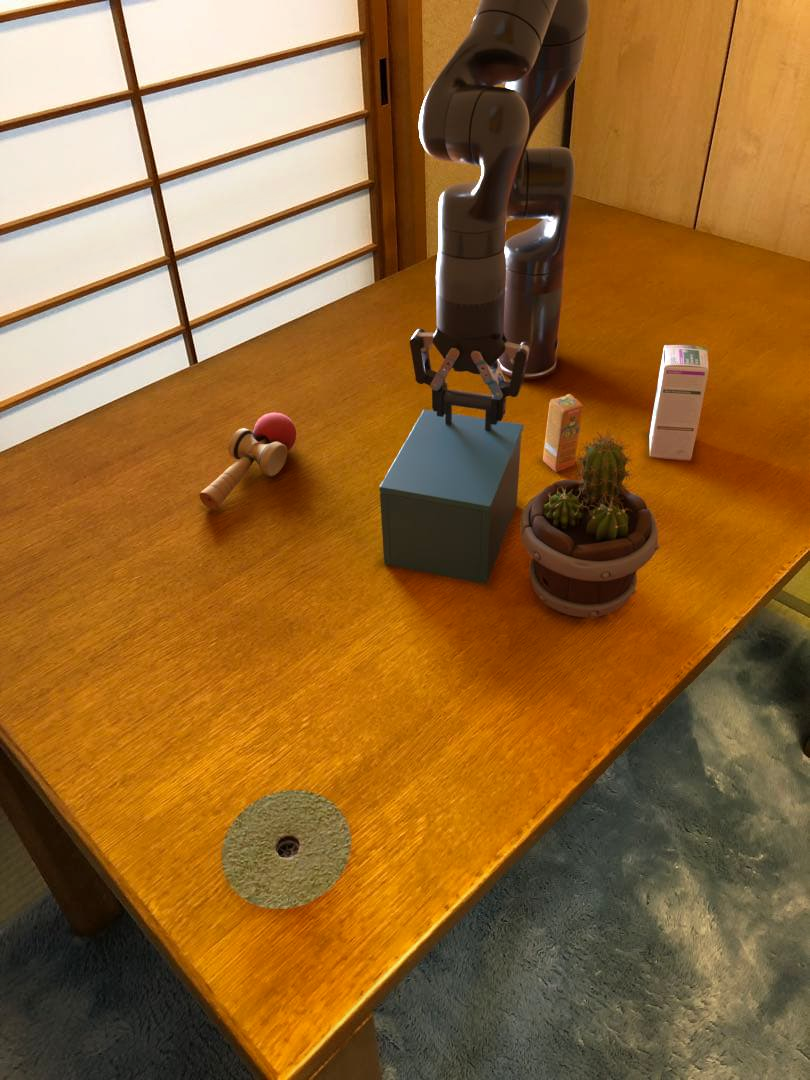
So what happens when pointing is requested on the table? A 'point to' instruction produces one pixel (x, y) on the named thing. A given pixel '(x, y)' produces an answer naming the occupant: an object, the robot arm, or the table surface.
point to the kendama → (253, 454)
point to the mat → (286, 849)
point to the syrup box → (678, 401)
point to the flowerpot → (589, 536)
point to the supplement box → (562, 432)
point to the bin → (448, 532)
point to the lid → (454, 456)
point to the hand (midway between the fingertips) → (468, 416)
